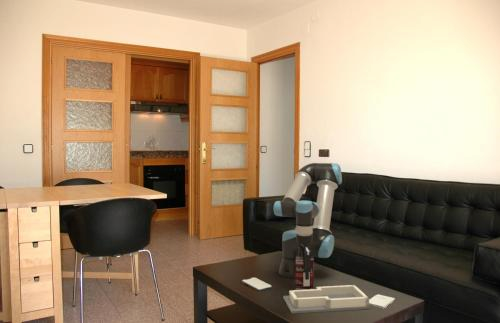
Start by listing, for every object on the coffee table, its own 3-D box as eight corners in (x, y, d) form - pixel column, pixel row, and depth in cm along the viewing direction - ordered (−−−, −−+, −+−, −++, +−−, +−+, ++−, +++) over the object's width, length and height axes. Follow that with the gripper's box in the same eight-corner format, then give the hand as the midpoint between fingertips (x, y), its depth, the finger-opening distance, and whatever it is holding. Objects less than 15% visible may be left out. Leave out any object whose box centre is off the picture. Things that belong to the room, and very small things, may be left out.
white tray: (283, 298, 178) (283, 288, 178) (354, 294, 182) (354, 284, 182) (291, 313, 162) (291, 302, 161) (369, 309, 165) (369, 298, 165)
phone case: (273, 289, 191) (254, 279, 205) (273, 286, 191) (254, 276, 205) (258, 293, 186) (240, 283, 200) (258, 290, 186) (240, 280, 200)
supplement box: (294, 293, 185) (294, 259, 184) (295, 289, 189) (295, 256, 189) (313, 294, 183) (313, 259, 183) (314, 290, 188) (313, 257, 187)
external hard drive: (365, 305, 171) (376, 297, 180) (383, 310, 165) (395, 301, 175) (365, 301, 170) (376, 293, 180) (383, 306, 165) (395, 297, 175)
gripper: (291, 230, 195) (292, 277, 195) (301, 239, 175) (301, 291, 176) (306, 229, 195) (306, 276, 196) (318, 238, 176) (318, 290, 177)
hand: (304, 283), depth 186 cm, fingers open, 6 cm apart
